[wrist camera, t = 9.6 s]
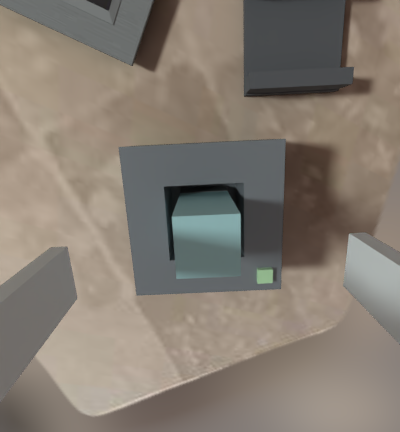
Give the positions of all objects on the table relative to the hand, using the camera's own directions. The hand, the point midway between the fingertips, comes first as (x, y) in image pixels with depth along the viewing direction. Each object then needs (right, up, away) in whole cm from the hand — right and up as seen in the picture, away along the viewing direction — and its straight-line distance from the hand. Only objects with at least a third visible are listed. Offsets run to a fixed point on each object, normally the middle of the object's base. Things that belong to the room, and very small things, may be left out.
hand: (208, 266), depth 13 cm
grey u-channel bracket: (+7, +17, +10) cm, 21 cm away
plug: (0, +3, +13) cm, 14 cm away
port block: (0, +3, +14) cm, 15 cm away
